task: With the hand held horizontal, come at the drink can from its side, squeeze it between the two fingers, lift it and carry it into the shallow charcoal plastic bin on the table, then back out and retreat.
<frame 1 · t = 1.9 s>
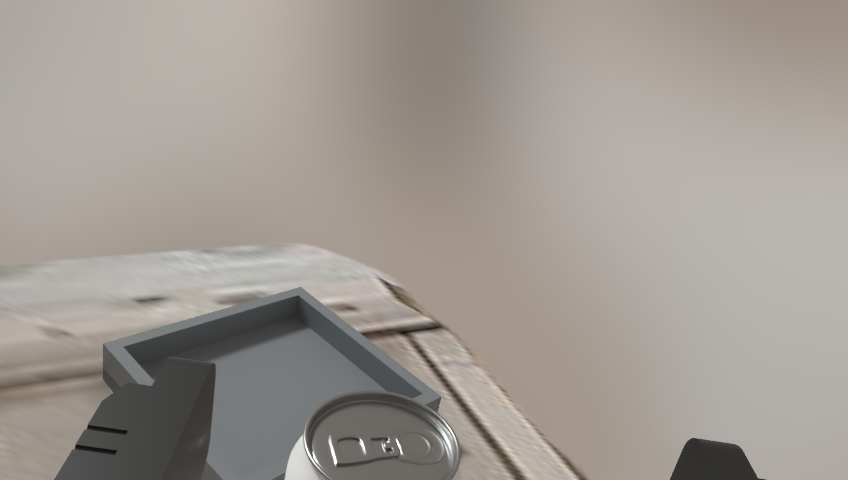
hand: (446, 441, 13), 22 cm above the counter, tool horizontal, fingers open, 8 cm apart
bin: (270, 404, 46), on the counter
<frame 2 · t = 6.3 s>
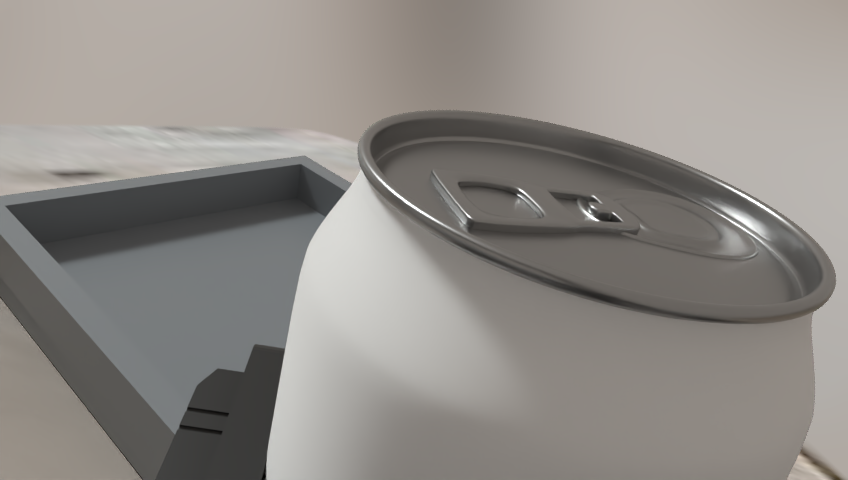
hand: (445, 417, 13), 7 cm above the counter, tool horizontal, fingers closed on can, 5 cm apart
bin: (256, 310, 28), on the counter
when the fingers open (8 cm above the counter, at t = 11.4 s): can stays where it is, resting on bin.
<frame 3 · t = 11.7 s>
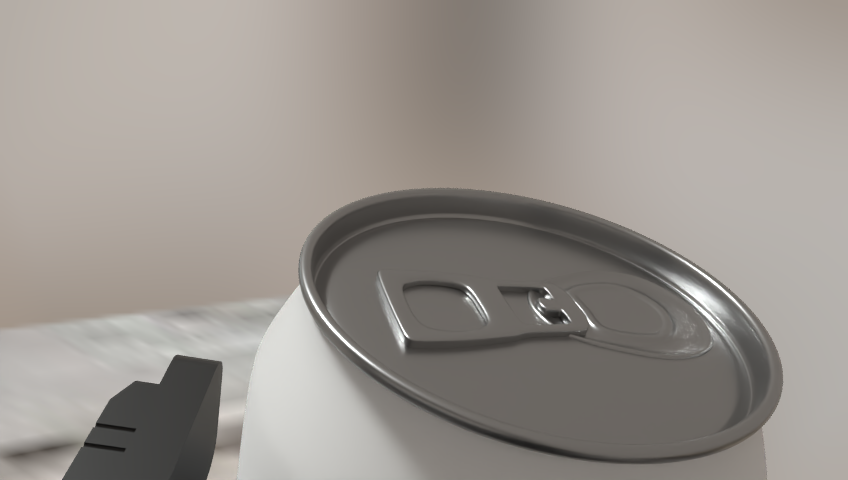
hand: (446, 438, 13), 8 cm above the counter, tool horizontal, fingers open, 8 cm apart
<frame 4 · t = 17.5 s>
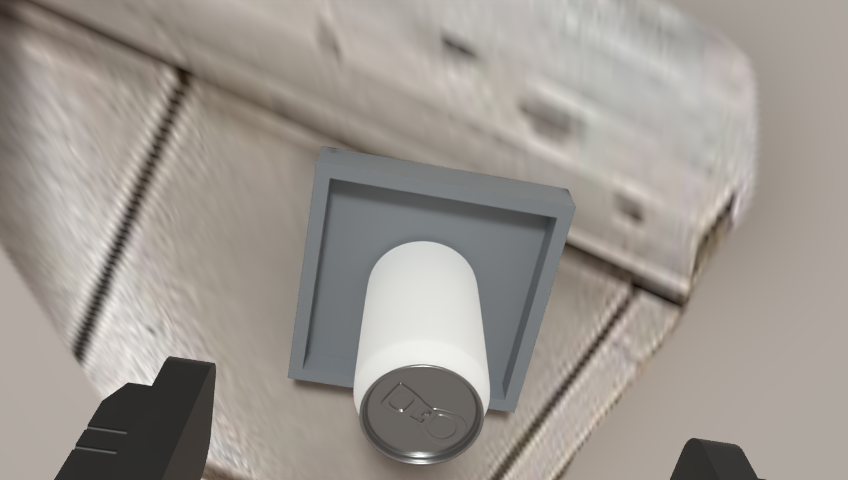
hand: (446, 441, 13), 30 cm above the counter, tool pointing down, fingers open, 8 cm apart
can: (422, 285, 45), point 1 cm above the counter, touching bin
bin: (423, 276, 46), on the counter
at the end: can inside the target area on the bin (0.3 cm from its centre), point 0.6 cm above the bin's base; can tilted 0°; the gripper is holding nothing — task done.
